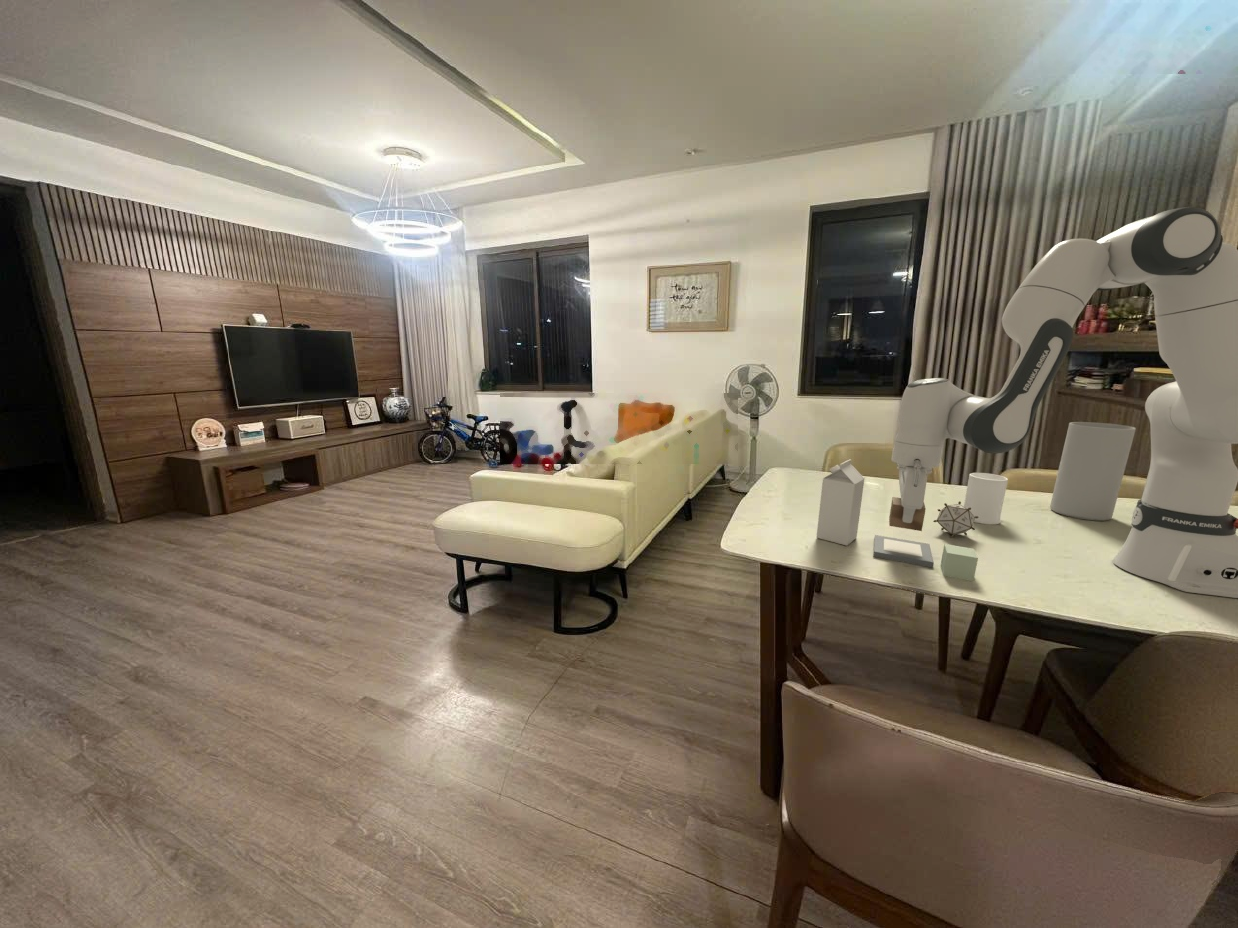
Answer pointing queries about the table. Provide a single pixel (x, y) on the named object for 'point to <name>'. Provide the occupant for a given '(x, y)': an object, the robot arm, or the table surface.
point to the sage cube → (959, 562)
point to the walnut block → (897, 515)
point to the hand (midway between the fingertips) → (906, 516)
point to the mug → (985, 497)
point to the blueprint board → (903, 551)
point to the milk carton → (840, 504)
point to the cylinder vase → (1091, 470)
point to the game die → (956, 519)
